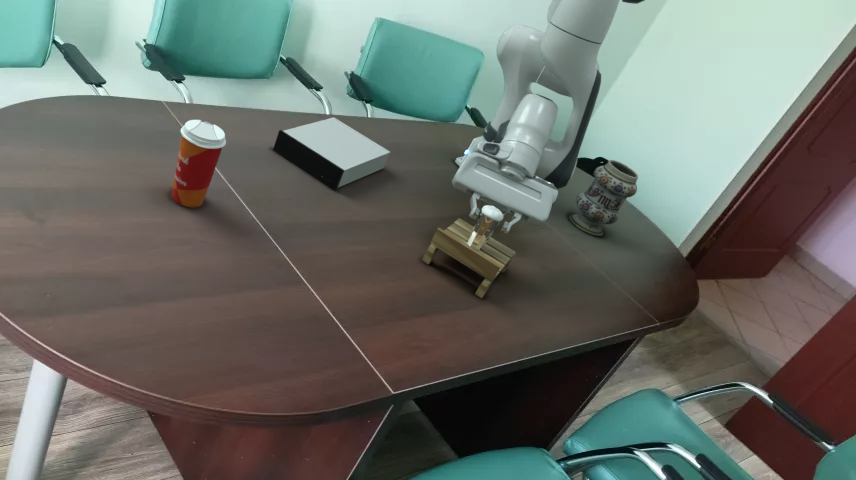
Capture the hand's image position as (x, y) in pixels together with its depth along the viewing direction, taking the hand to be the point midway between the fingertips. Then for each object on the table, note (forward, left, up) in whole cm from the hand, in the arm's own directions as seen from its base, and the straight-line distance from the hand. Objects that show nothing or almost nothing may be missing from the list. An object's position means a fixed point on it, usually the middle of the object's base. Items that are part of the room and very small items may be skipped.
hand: (488, 224), depth 132 cm
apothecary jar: (-58, +16, -11) cm, 61 cm away
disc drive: (-10, -40, -11) cm, 43 cm away
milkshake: (-1, 0, -6) cm, 6 cm away
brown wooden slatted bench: (-1, 0, -11) cm, 11 cm away
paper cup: (+34, -45, -11) cm, 58 cm away
